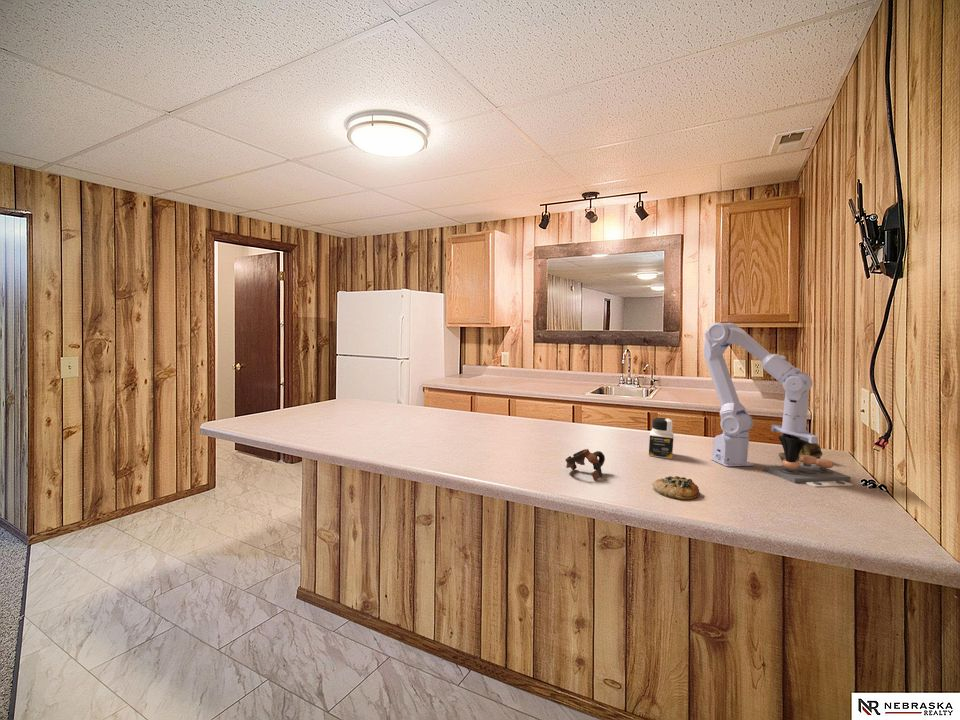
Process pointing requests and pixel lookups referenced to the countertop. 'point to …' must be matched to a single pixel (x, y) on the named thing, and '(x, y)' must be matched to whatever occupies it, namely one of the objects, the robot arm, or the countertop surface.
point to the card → (829, 483)
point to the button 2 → (823, 464)
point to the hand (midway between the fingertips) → (790, 461)
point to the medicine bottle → (661, 438)
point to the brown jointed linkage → (591, 458)
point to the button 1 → (790, 465)
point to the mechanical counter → (807, 451)
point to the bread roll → (676, 488)
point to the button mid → (807, 460)
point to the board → (807, 474)
